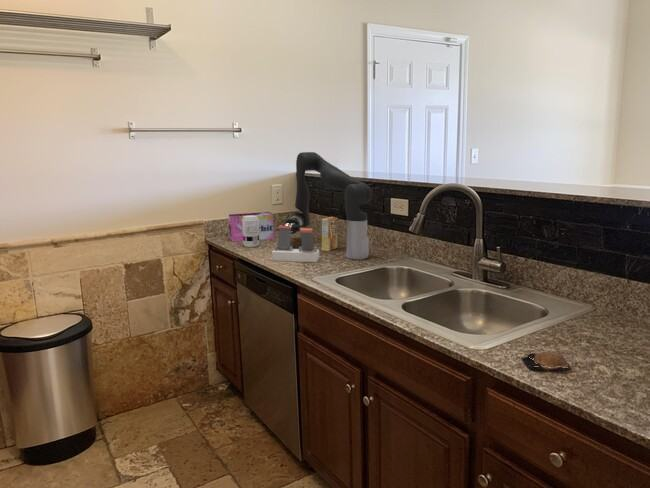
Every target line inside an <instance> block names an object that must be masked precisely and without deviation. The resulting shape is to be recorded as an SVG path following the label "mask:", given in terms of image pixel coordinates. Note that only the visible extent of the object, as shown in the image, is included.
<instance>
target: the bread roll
mask: <svg viewBox="0 0 650 488" xmlns="http://www.w3.org/2000/svg"><path fill="white" fill-rule="evenodd" d="M527 356H528V357H527ZM527 356H525V357H521V361H522V363H523V364H524V366H525V368H527V370H529V371H532V372H534V373H545V374H547V373H551V374H552V373H557V374H558V373H559V374H560V373H562V374H564V373H575V372H576V369H575V368H573V366H571V365H570V364H569V363H568V362H567V361H566V359H565V357H563V356H562V355H561V354H559V353H557V352H547V351H545V352H539V353H533V352H531V353H529V354H527ZM529 357H530V358H532V359H533V358H534V360H535V361H534V360H532V359H530V358H529ZM535 362H536V363H537V364H536V363H535ZM567 363H568V366H567V367H568V368H562V367H557V368H548V367H556V366H565V365H567ZM541 365H542V366H547V367H542V366H541ZM534 366H539V367H534Z"/></svg>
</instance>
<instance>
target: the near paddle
mask: <svg viewBox="0 0 650 488" xmlns="http://www.w3.org/2000/svg"><path fill="white" fill-rule="evenodd" d="M313 232H314V231H313V228H309V227H308V228H307V227H302V228H301V229H300V231H299V233H300V239H301V240H300V242H301V243H300V244H301V247H302V251H314V247H315V246H314V236H313V234H314V233H313Z"/></svg>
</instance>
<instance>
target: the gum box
mask: <svg viewBox="0 0 650 488" xmlns="http://www.w3.org/2000/svg"><path fill="white" fill-rule="evenodd" d="M246 215H256V216H257V217H258V219H259V241H260V240H270V239H271V240H272V239H275V236H274V235H275V234H274V233H275V230H274V229H275V228H274V227H275V226H274V213H272V212H270V211H262V212H261V211H260V212H250V213H249V212H247V213H246V212H245V213H233V214H232V213H231V214H230V213H229V214H228V217H227V222H228V229H229V231H228V232H229V239H230V240H231V241H232V242H233V243H234V242H243V232H242V218H243V216H246Z"/></svg>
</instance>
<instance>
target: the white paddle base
mask: <svg viewBox="0 0 650 488" xmlns="http://www.w3.org/2000/svg"><path fill="white" fill-rule="evenodd" d="M319 260H320V249H318V247H317V246H314V251H302V246H298V248H293V246H292V245H290V246H289V250H278V245H275V246H274V249H273V250H272V251H271V261H273V262H300V263H301V262H302V263H318V261H319Z"/></svg>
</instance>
